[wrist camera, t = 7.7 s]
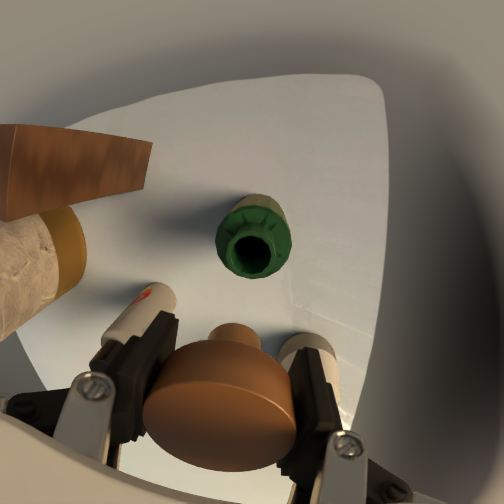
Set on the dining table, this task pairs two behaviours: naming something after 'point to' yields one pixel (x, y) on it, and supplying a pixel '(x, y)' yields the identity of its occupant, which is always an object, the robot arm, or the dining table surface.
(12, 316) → the vase
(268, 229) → the green bottle
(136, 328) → the lotion bottle
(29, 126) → the brown block
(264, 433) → the cork stopper
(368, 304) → the dining table surface
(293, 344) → the smart speaker
